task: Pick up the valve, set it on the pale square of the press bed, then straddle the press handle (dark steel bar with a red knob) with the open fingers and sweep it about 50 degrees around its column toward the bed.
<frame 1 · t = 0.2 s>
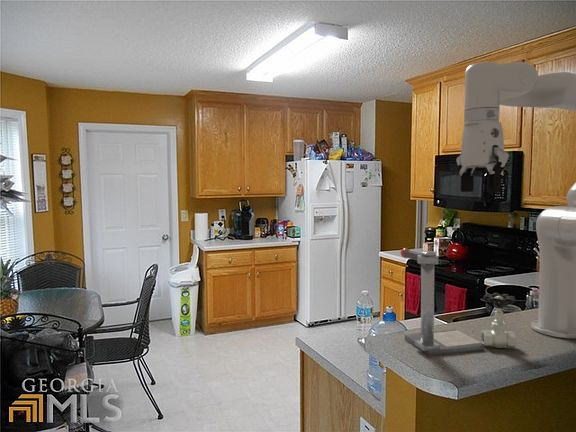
hand: (479, 192, 104), 36 cm above the table, tool pointing down, fingers open, 9 cm apart
press: (445, 344, 105), on the table
valve: (498, 348, 102), on the table
lever: (417, 256, 103), point 21 cm above the table, hinge at 0.0°
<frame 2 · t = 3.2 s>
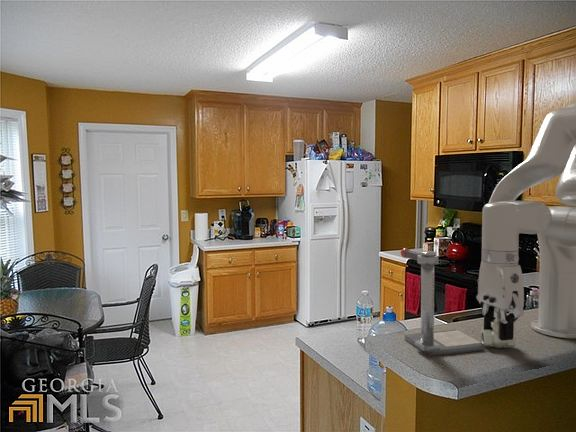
hand: (498, 334, 102), 3 cm above the table, tool pointing down, fingers closed on valve, 4 cm apart
valve: (497, 348, 102), on the table, touching gripper
everything else where it was.
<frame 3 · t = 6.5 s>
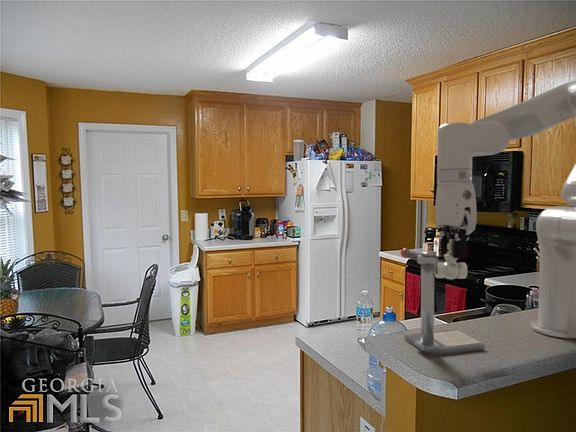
hand: (453, 255, 104), 21 cm above the table, tool pointing down, fingers closed on valve, 4 cm apart
valve: (450, 279, 104), point 15 cm above the table, touching gripper
everything else where it was.
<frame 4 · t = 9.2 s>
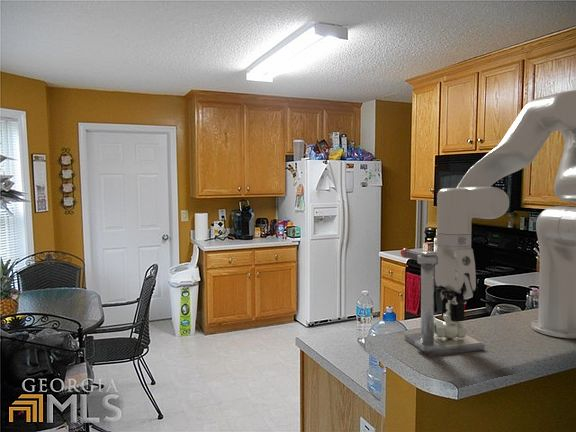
hand: (452, 317, 105), 6 cm above the table, tool pointing down, fingers closed on valve, 2 cm apart
valve: (449, 339, 105), point 1 cm above the table, touching gripper, press
everything else where it was.
when the fingers open (6 cm above the table, at t = 9.2 s): valve stays where it is, resting on press.
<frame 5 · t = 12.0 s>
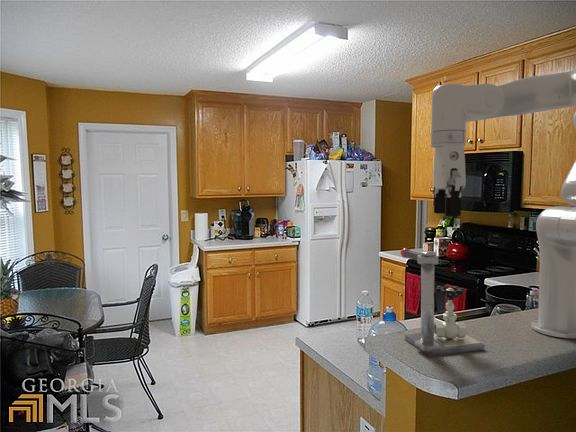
hand: (446, 214, 103), 31 cm above the table, tool pointing down, fingers open, 9 cm apart
valve: (449, 339, 105), point 1 cm above the table, touching press
everything else where it was.
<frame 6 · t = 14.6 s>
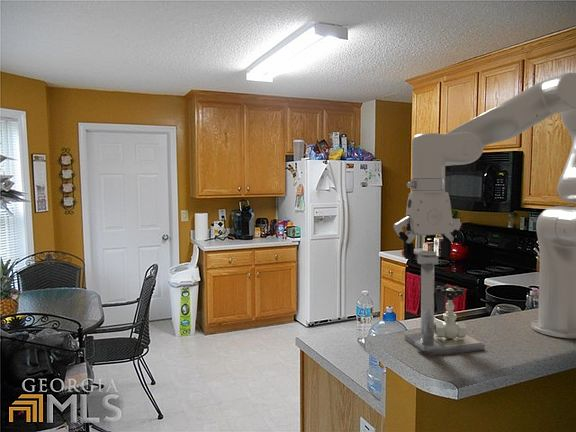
hand: (427, 258, 106), 20 cm above the table, tool pointing down, fingers open, 9 cm apart
lever: (417, 256, 103), point 21 cm above the table, hinge at 1.5°, touching gripper
everything else where it was.
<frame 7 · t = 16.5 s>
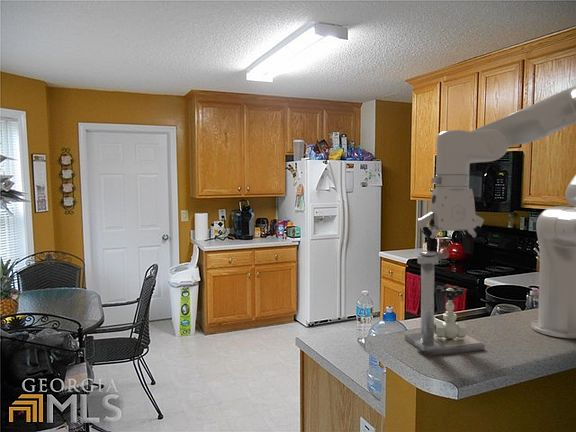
hand: (450, 253, 107), 21 cm above the table, tool pointing down, fingers open, 9 cm apart
lever: (435, 256, 102), point 21 cm above the table, hinge at 52.5°, touching gripper
everything else where it was.
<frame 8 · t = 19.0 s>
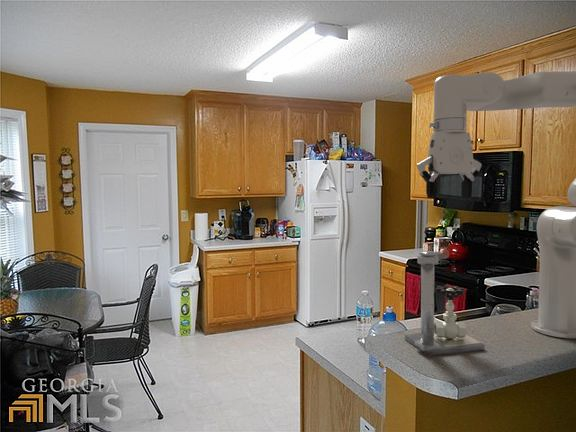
hand: (449, 197, 110), 34 cm above the table, tool pointing down, fingers open, 9 cm apart
lever: (435, 256, 102), point 21 cm above the table, hinge at 52.5°
everything else where it was.
at the end: valve inside the target area (0.8 cm from its centre), point 1.1 cm above the table; valve tilted 0°; lever at +52° (first picture: +0°) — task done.
